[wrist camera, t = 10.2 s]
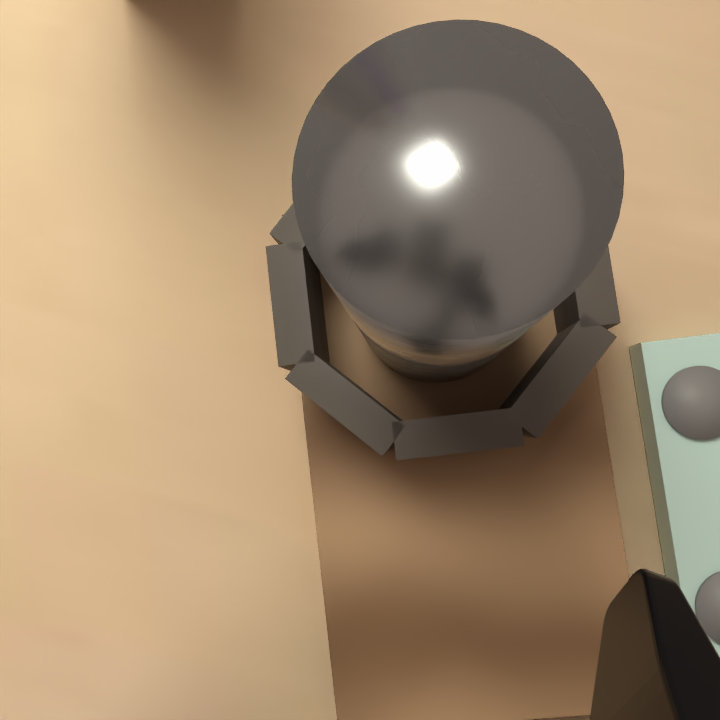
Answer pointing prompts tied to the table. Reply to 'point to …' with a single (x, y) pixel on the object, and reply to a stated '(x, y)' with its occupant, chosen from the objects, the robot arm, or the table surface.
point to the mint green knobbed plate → (685, 462)
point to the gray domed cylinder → (456, 191)
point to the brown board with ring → (456, 508)
